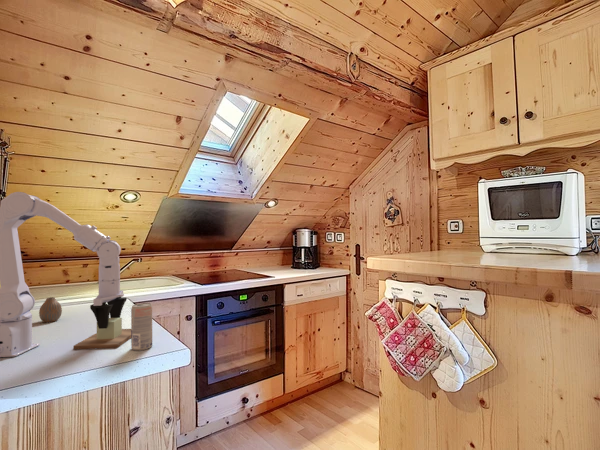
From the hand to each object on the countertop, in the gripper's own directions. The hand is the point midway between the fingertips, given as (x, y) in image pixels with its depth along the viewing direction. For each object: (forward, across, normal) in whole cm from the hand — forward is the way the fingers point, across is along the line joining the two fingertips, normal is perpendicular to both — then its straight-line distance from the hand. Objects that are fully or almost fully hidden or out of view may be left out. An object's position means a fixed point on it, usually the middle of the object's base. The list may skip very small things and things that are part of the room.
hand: (109, 324), depth 103 cm
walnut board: (+4, 0, 0) cm, 5 cm away
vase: (+5, +27, +34) cm, 44 cm away
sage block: (+3, 0, 0) cm, 4 cm away
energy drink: (+5, -9, -13) cm, 17 cm away
